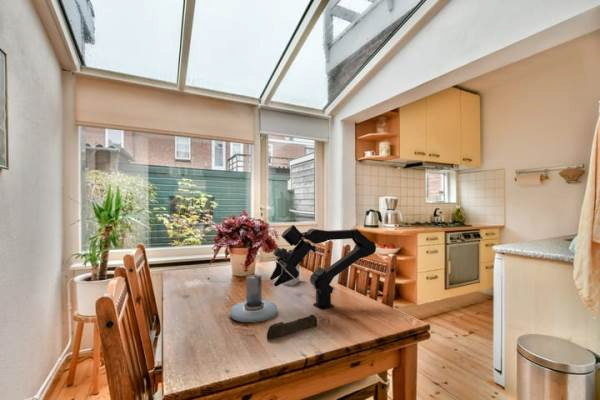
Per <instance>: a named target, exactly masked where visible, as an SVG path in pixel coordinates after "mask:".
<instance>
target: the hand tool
mask: <svg viewBox="0 0 600 400" xmlns="http://www.w3.org/2000/svg"><path fill="white" fill-rule="evenodd" d="M317 326H318V319H317V316H315V315H314V314H310V315H309V316H306V317H305V316H304V317H301V318H298V319H296V320H292V321H288V322H282V321H281V322H280V321H279V322H277V323H273V324H271V325H270V326H269V327H268V330H267V332H266V340H267V341H272V340H276V339H281V338H284V337H285V336H287V335H289V334H292V333H295V332H297V331H301V330H305V329H308V328H312V327H315V328H316V327H317Z"/></svg>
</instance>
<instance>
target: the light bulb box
mask: <svg viewBox="0 0 600 400" xmlns="http://www.w3.org/2000/svg"><path fill="white" fill-rule="evenodd" d="M296 268H297V269H296V270H298V271H299V276H298V277H297V278H296V279H295V278H294V277H293V278H294V279H292V280H290V281H287V282H285V283H283V284H281V285H283V286H293V287H294V285H296V284H297V283H298V282H300V280H301V279H300V273H301V272H300V271H301V269H300V263H299V264H298V265H297V266H296ZM284 269H285V268H284Z"/></svg>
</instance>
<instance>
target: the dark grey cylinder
mask: <svg viewBox="0 0 600 400" xmlns="http://www.w3.org/2000/svg"><path fill="white" fill-rule="evenodd" d="M245 284H246V285H245V291H246V292H245V294H246V299H245V301H246V304H245V305H244V309H245V310H247V311H258V310H261V309H263V308H264V303H263V302H262V300H263V297H262V296H263V295H262V294H263V293H262V292H263V291H262V288H263V287H262V275H258V274H250V275H247V276H246V277H245Z"/></svg>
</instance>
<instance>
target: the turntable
mask: <svg viewBox="0 0 600 400" xmlns="http://www.w3.org/2000/svg"><path fill="white" fill-rule="evenodd" d="M262 302H263V303H264V308H263V309H261V310H258V311H247V310H245V309H244V305H245V304H246V300H245V301H241V302H239V303H236V304H234V305H233V306H232V307H231V308H230V317H231V319H233V321H234V320H235V321H237V322H243V323H256V322H257V323H258V322H263V321H266V320H269V319H271V318H273V317H274V316H276V315H277V313H278V306H277V304H276V303H275V302H273V301H270V300H265V299H262Z"/></svg>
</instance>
